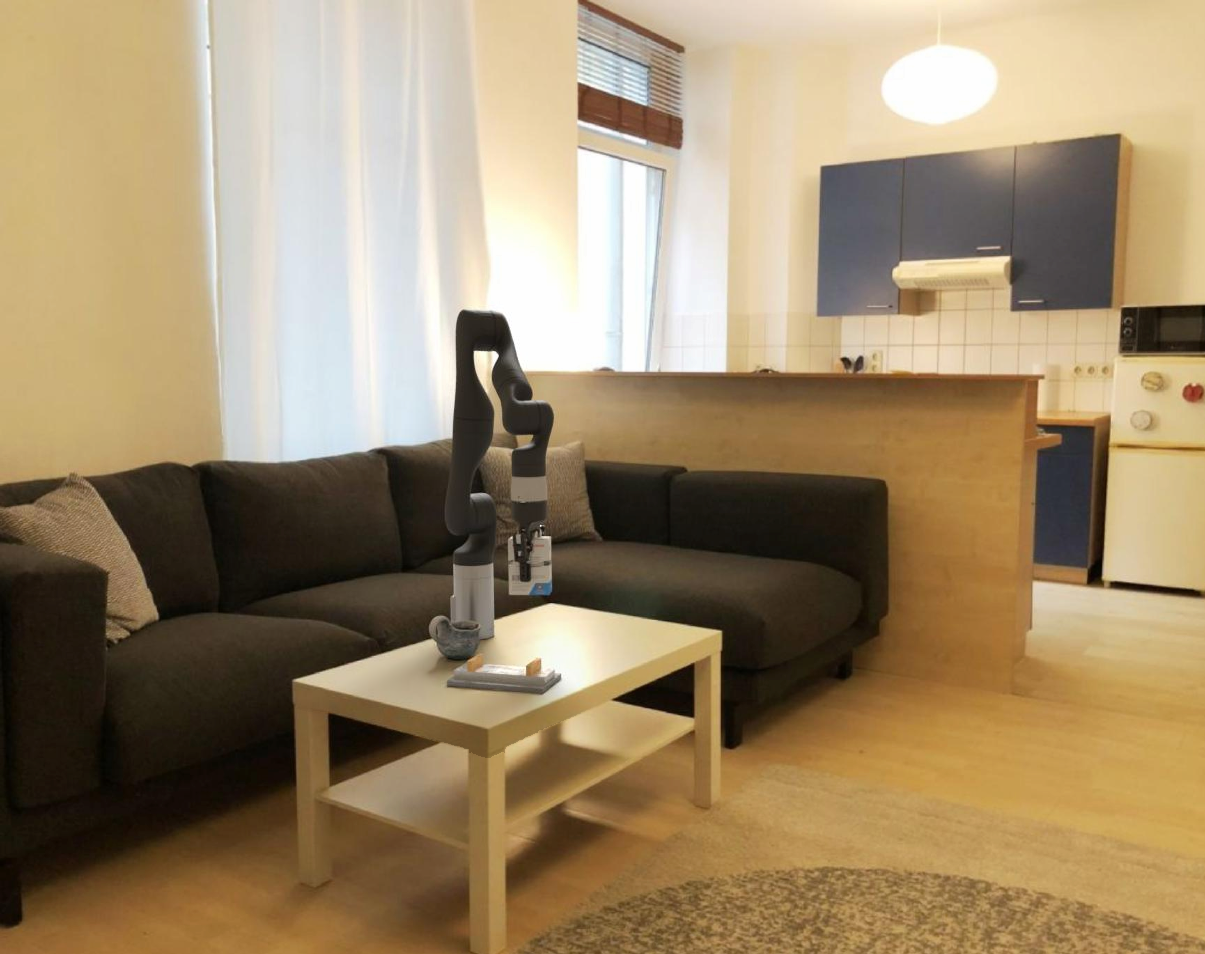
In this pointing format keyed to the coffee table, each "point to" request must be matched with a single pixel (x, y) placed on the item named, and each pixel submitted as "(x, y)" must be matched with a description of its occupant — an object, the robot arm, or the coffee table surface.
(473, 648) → the mug
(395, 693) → the coffee table surface
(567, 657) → the coffee table surface
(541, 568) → the ink box
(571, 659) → the coffee table surface
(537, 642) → the coffee table surface
